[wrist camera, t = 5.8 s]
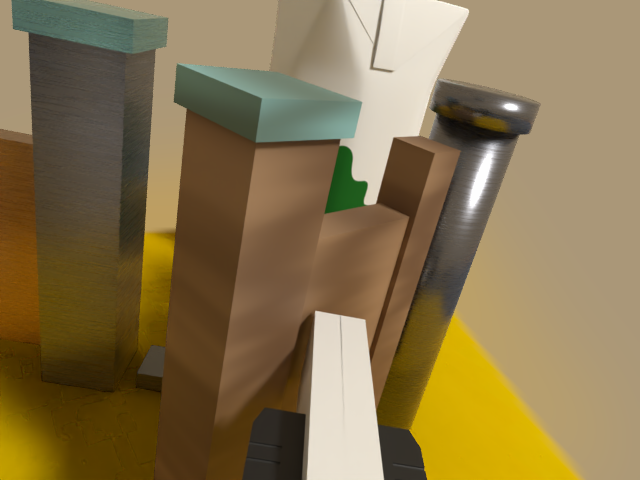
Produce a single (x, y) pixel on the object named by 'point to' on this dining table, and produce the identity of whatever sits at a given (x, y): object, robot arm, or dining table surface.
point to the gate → (277, 256)
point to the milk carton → (367, 73)
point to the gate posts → (131, 192)
